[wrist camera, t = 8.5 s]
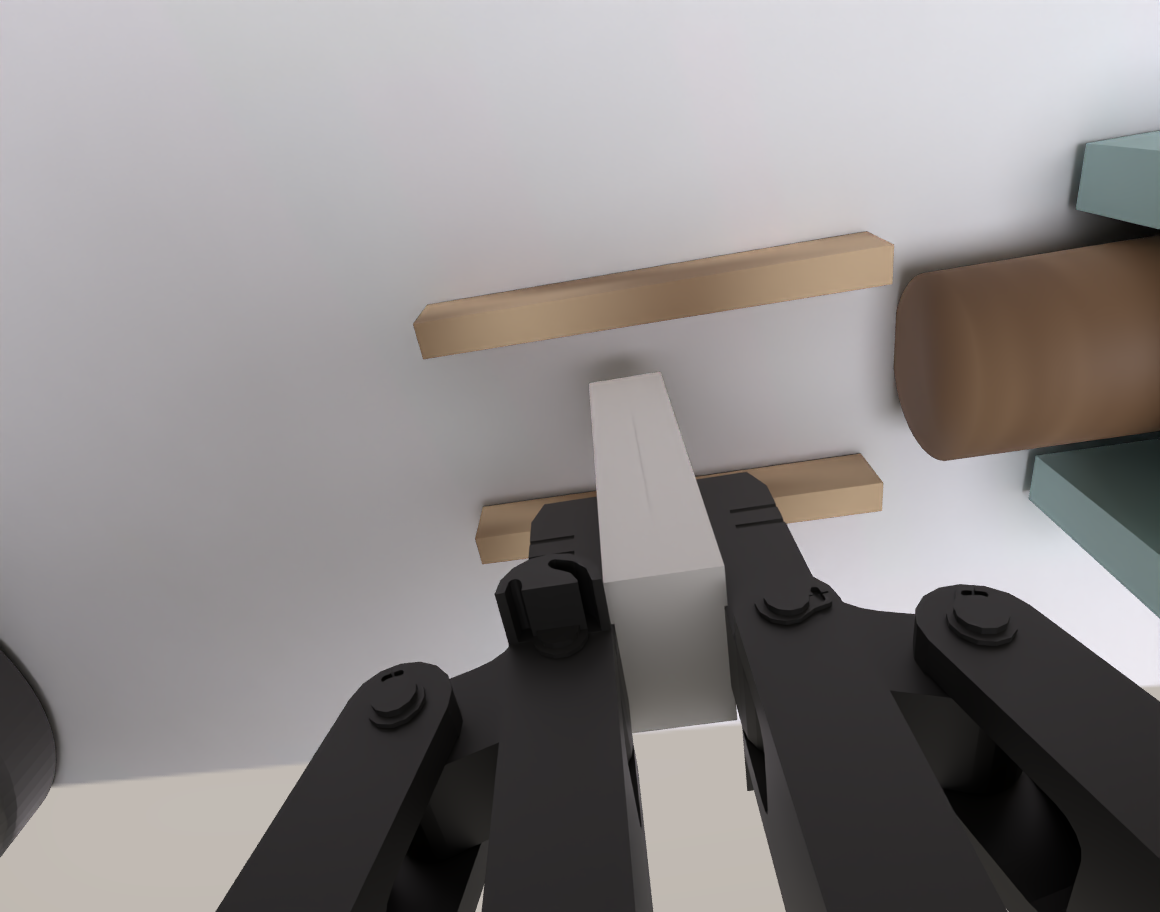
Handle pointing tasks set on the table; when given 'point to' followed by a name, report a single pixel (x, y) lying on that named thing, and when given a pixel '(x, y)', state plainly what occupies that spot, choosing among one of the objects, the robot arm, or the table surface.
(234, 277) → the table surface
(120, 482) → the table surface
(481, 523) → the rails
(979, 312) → the dowel
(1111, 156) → the block
